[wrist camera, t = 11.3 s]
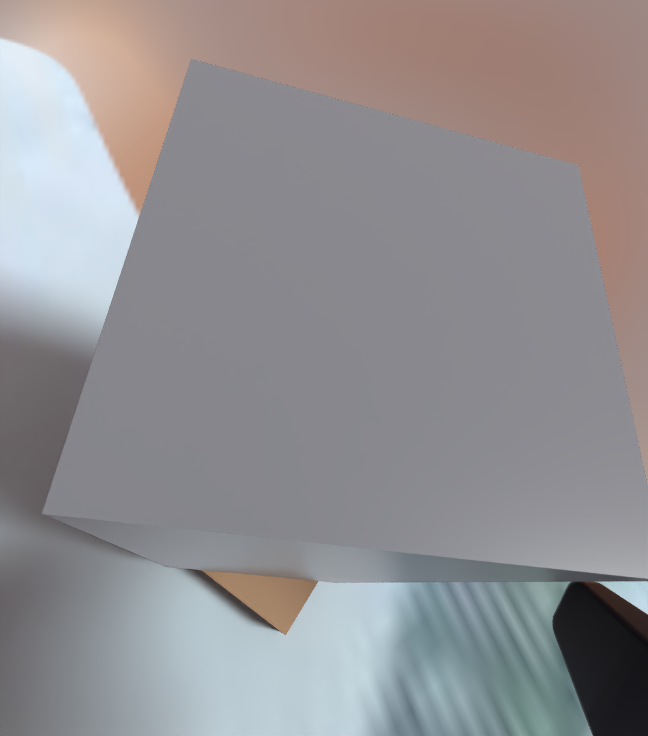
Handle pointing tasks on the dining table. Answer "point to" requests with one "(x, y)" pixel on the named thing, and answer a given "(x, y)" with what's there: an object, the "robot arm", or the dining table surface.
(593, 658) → the robot arm
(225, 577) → the post plinth
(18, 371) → the dining table surface
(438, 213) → the tall grey pillar
